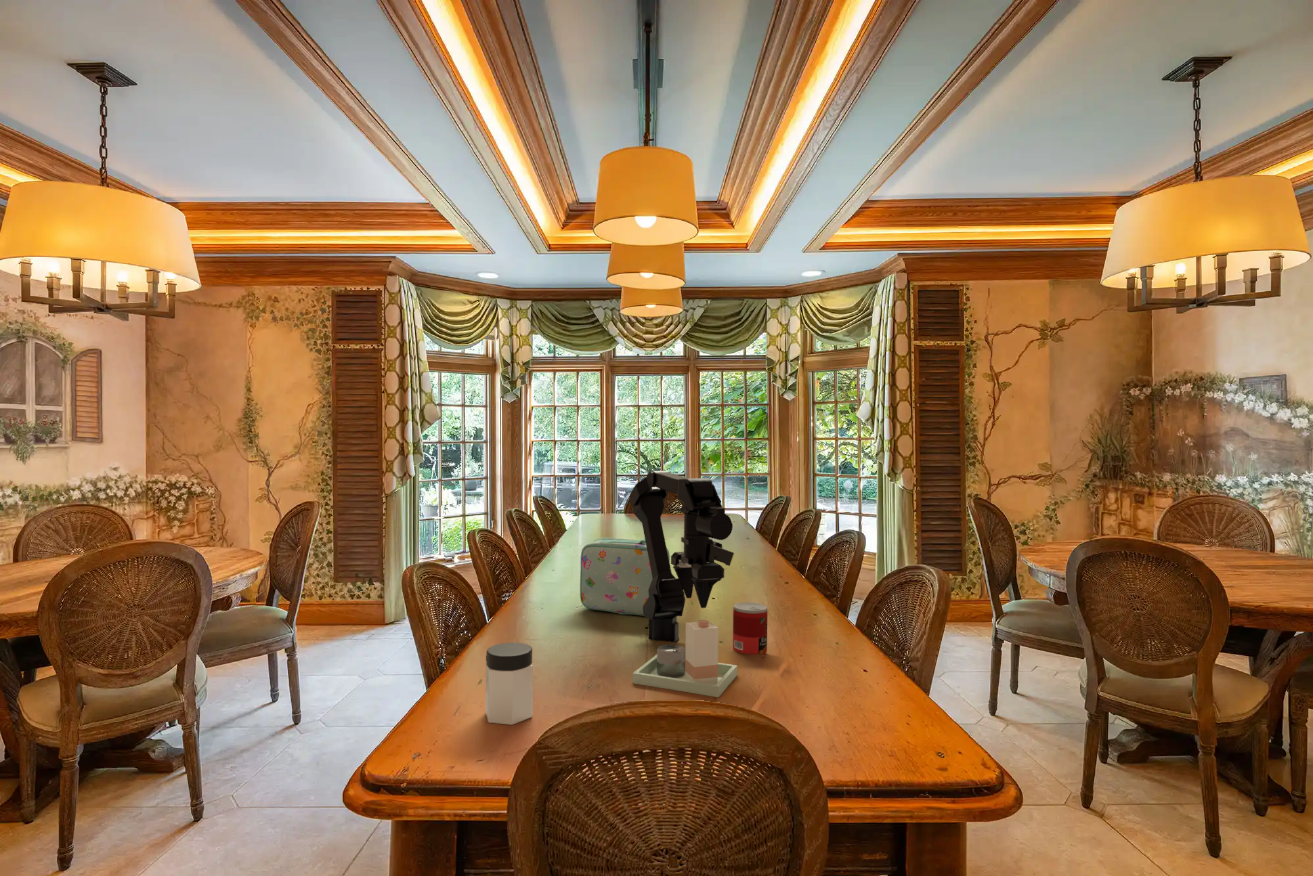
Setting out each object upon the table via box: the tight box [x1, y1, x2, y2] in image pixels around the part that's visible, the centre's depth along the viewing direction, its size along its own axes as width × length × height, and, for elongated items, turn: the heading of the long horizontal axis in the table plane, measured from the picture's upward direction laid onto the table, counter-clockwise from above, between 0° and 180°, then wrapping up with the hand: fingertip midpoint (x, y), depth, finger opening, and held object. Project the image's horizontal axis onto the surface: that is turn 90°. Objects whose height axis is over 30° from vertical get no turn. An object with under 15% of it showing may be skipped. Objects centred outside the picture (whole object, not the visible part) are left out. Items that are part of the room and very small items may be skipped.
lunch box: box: [579, 537, 671, 617], centre depth 196 cm, size 27×10×21 cm, turn 71°
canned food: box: [732, 601, 768, 655], centre depth 159 cm, size 8×8×11 cm
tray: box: [632, 654, 738, 698], centre depth 139 cm, size 18×13×3 cm
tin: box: [656, 644, 686, 678], centre depth 143 cm, size 6×6×5 cm
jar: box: [485, 642, 534, 726], centre depth 123 cm, size 9×8×12 cm
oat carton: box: [685, 619, 719, 685], centre depth 136 cm, size 5×5×13 cm
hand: (696, 602), depth 154 cm, fingers open, 9 cm apart
